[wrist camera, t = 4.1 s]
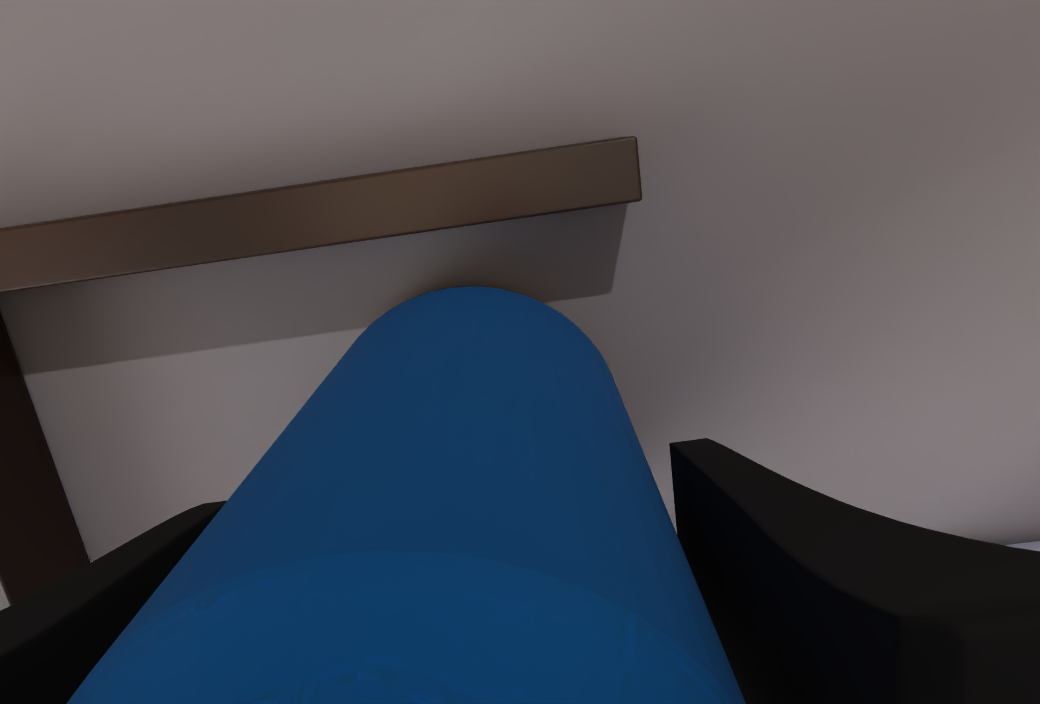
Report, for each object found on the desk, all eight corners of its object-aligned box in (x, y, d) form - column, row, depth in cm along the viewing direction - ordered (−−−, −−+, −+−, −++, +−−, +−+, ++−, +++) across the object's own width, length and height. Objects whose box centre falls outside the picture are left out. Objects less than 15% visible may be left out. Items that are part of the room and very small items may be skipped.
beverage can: (417, 578, 18) (230, 1408, 6) (284, 352, 16) (-329, 912, 4) (659, 477, 17) (969, 1207, 5) (546, 229, 15) (643, 512, 4)
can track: (625, 136, 15) (646, 135, 12) (669, 604, 18) (692, 676, 15) (-83, 240, 15) (-195, 258, 13) (84, 676, 18) (19, 757, 16)
